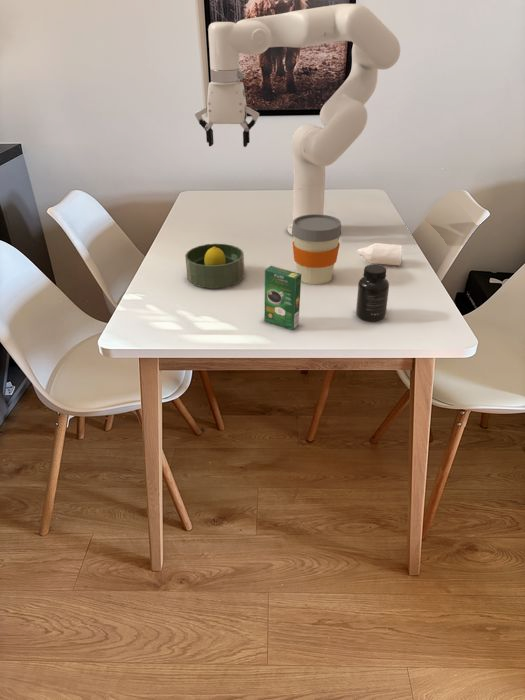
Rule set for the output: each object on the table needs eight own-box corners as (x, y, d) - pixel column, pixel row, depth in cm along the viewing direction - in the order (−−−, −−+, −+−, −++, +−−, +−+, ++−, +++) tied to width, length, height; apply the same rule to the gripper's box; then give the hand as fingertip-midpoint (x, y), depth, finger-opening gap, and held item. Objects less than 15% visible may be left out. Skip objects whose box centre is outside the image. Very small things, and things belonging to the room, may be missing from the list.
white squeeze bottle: (356, 257, 159) (358, 238, 156) (400, 260, 157) (402, 241, 154) (355, 265, 154) (356, 246, 151) (399, 269, 152) (402, 249, 149)
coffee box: (300, 326, 126) (302, 272, 119) (294, 331, 124) (295, 277, 117) (270, 316, 130) (270, 264, 123) (263, 322, 128) (263, 269, 121)
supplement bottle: (352, 309, 132) (356, 262, 126) (381, 308, 133) (386, 261, 126) (359, 324, 126) (363, 275, 120) (389, 322, 127) (395, 274, 120)
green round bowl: (248, 267, 154) (247, 244, 150) (239, 291, 141) (238, 267, 138) (194, 264, 156) (193, 242, 152) (181, 288, 143) (178, 264, 140)
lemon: (223, 280, 145) (221, 251, 141) (202, 278, 146) (200, 250, 142) (228, 271, 150) (227, 243, 146) (208, 270, 151) (206, 242, 147)
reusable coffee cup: (306, 291, 141) (308, 234, 133) (282, 273, 150) (282, 218, 142) (347, 281, 146) (352, 225, 138) (321, 264, 155) (324, 211, 147)
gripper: (260, 75, 147) (261, 143, 156) (196, 75, 149) (200, 142, 158) (256, 78, 141) (257, 149, 150) (189, 78, 143) (194, 148, 152)
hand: (228, 145), depth 154 cm, fingers open, 9 cm apart
